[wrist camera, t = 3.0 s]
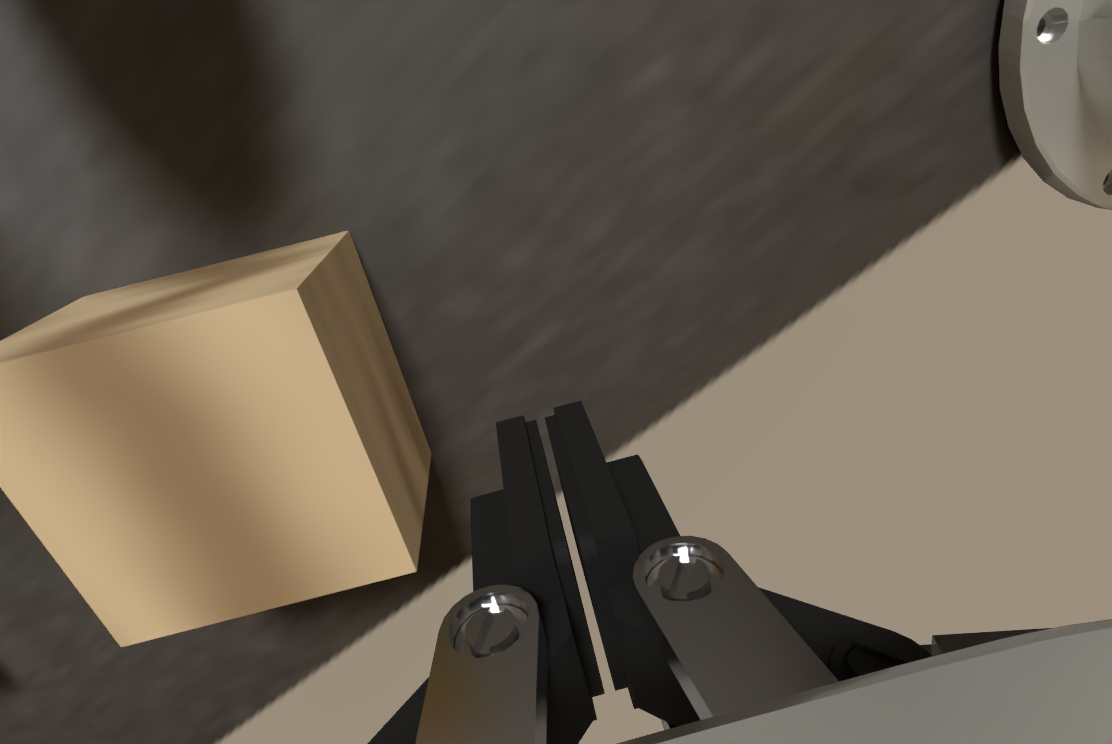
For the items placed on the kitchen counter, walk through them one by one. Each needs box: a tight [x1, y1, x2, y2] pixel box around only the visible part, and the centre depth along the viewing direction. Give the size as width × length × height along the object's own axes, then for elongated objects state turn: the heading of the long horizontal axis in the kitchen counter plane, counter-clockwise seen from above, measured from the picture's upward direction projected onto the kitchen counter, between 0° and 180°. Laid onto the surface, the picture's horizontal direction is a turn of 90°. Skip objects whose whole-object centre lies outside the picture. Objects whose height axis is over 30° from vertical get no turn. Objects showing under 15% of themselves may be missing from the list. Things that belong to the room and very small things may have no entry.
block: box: [0, 231, 431, 647], centre depth 17 cm, size 8×8×6 cm
